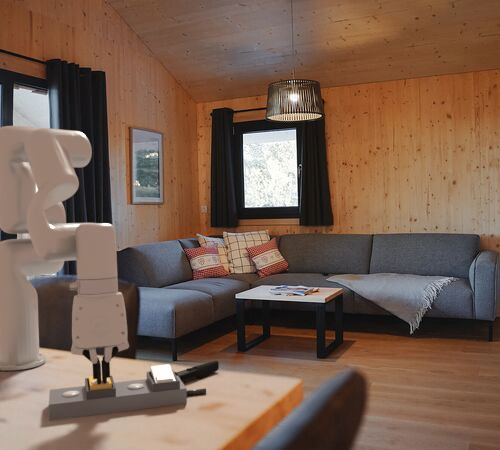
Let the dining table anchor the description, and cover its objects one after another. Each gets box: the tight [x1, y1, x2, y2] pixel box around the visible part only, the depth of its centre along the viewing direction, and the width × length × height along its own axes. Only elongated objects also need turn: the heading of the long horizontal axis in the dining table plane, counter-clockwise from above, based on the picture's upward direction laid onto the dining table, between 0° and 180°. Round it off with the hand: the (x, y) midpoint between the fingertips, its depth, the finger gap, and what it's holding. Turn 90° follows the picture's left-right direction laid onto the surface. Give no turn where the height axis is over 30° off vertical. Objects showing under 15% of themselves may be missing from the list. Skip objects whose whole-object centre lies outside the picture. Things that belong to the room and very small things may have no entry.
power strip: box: [48, 368, 207, 421], centre depth 114 cm, size 9×31×5 cm, turn 108°
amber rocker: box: [88, 374, 112, 390], centre depth 112 cm, size 7×4×1 cm, turn 18°
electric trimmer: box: [173, 360, 220, 384], centre depth 129 cm, size 4×16×3 cm, turn 138°
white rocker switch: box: [149, 363, 176, 383], centre depth 116 cm, size 7×4×1 cm, turn 18°
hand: (101, 381), depth 109 cm, fingers closed
